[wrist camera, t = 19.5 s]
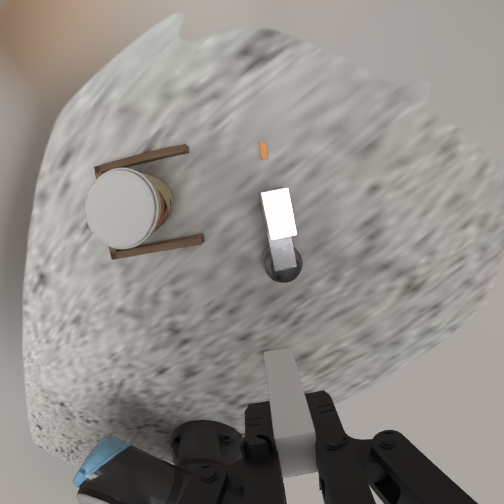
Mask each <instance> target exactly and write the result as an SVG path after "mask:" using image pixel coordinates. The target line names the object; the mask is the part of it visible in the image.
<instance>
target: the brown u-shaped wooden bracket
mask: <svg viewBox="0 0 504 504" xmlns="http://www.w3.org/2000/svg"><path fill="white" fill-rule="evenodd" d="M186 153H189V149H188V146H187V145H185V144H183V145H178V146H174V147H169V148H165V149H160V150H156V151H152V152H148V153H144V154H140V155H136V156H132V157H128V158H124V159H121V160H117V161H113V162H110V163H106V164H103V165H99V166H96V167H94V168H95V175H96V179H97V178H98V177H100V176H101V175H102V174H103V173H105V172H107V171H109V170H112V169H115V168H126V167H129V166H133V165H137V164H141V163H146V162H150V161H154V160H158V159H163V158H167V157H172V156H176V155H181V154H186ZM203 242H204V237H203V234H201V235H195V236H190V237H184V238H178V239H173V240H167V241H161V242H156V243H150V244H145V245H139V246H135V247H133V248H129V249H115V248H112V247H109V249H110V254H111V258H112V260H113V259H119V258H125V257H130V256H136V255H142V254H147V253H153V252H159V251H165V250H170V249H176V248H182V247H188V246H194V245H200V244H202V243H203Z"/></svg>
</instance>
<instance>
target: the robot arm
mask: <svg viewBox="0 0 504 504" xmlns="http://www.w3.org/2000/svg"><path fill="white" fill-rule="evenodd" d="M264 360H265V368H266V376H267V384H268V392H269V400H270V401H267V402H260V403H253V404H249V405H248V407H247V409H246V410H245V437H244V438H242V436H241V435H240V434H239V433H238V432H237V431H235V430H234V429H232V428H231V427H229V426H227V425H224V424H221V423H218V422H213V421H193V422H188V423H185V424H183V425H181V426H179V427H178V428H177V429H176V430H175V431H174V433H173V435H172V438H171V443H170V449H171V454H172V459H173V463H174V465H172V464H170V463H168V462H165V461H163V460H161V459H159V458H157V457H155V456H153V455H150V454H148V453H146V452H144V451H142V450H140V449H138V448H136V447H134V446H132V444H130V443H126V442H124V441H121V440H119V439H117V438H115V437H113V436H105V437H103V438H102V439H101V440H100V441H99V442H98V443H97V445H96V446H95V447H94V449H93V450H92V451H91V453H90V454H89V456H88V457H87V458H86V460H85V461H84V463H83V464H82V467H81V468H80V469H79V471H78V472H77V474H76V475H75V477H74V479H73V483H74V484H75V485H76V487H80V489H79V491H78V493H77V495H76V497H77V499H78V501H79V503H80V504H287V503H286V496H285V489H284V483H283V478H285V477H291V476H297V475H303V474H308V473H313V472H317V471H318V473H319V486H320V490H322V494H323V499H324V503H325V504H376V503H375V500H374V498H373V495H372V492H371V490H370V487H371V488H372V489H373V491H374V492H375V493H376V494H377V495H378V497H379V498H380V499H381V500H382V501H383V503H384V504H478V503H477V502H475V501H474V500H473V499H472V498H471V497H470V496H469V495H468V494H466V493H465V492H464V491H463V490H462V489H461V488H460V487H459V486H458V485H456V484H455V483H454V482H453V481H452V480H451V479H450V478H449V477H448V476H447V475H445V474H444V473H443V472H442V471H441V470H440V469H439V468H438V467H437V466H435V465H434V464H433V463H432V462H431V461H430V460H429V459H428V458H427V457H426V456H425V455H424V454H423V453H421V452H420V451H419V450H418V449H417V448H416V447H415V446H414V445H413V444H412V443H411V442H410V441H409V440H408V439H407V438H406V437H404V436H403V435H402V434H401V433H399V432H398V431H394V430H385V431H382V432H379V433H378V434H376V435H375V436H374V438H373V439H367V440H360V439H354V438H351V437H350V436H348V435H347V434H346V433H345V431H344V429H343V427H342V424H341V422H340V419H339V416H338V414H337V411H336V409H335V406H334V404H333V401H332V399H331V396H330V395H329V394H328V393H326V392H325V391H324V390H323V391H318V392H313V393H308V394H304V390H303V387H302V383H301V380H300V376H299V373H298V369H297V366H296V362H295V359H294V355H293V352H292V349H291V348H285V349H280V350H274V351H268V352H264ZM369 486H370V487H369Z"/></svg>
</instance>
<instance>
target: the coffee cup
mask: <svg viewBox="0 0 504 504" xmlns="http://www.w3.org/2000/svg"><path fill="white" fill-rule="evenodd" d="M172 207H173V197H172V193H171V191H170V189H169V187H168V186H167V185H166V184H165V183H164V182H163V181H162V180H160V179H158V178H156V177H153V176H150V175H147V174H144V173H141V172H138V171H136V170H133V169H130V168H115V169H112V170H109V171H107V172H105V173H103V174H102V175H101V176H100V177H98V178H97V179H96V181H95V182H94V183H93V185H92V186H91V188H90V190H89V192H88V195H87V198H86V203H85V214H86V220H87V223H88V226H89V228H90V230H91V231H92V233H93V234H94V235H95V237H96V238H97V239H98V240H100V241H101V242H102V243H104V244H105V245H107V246H109V247H112V248H115V249H129V248H133V247H135V246H138V245H139V244H141V243H142V242H144V241H145V240H146V239H147V238H148V237H149V236H150V235H151V234H152V233H153V232H154V231H155V230H156V229H158V228H159V227H160V226H161V225H162V224H163V223H164V222H165V221H166V220H167V219H168V217H169V216H170V214H171V211H172Z"/></svg>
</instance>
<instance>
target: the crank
mask: <svg viewBox="0 0 504 504" xmlns="http://www.w3.org/2000/svg"><path fill="white" fill-rule="evenodd" d="M258 194H259V198H260V203H261V208H262V213H263V218H264V222H265V227H266V232H267V237H268V242H269V247H270V252H271V257H272V260H271V264H270V267H271V271H272V274H273V276H274V277H275V278H276V279H277V280H278V281H280V282H290V281H292V280H294V279H295V278H296V277H297V276H298V274H299V272H300V265H299V262H298V260H297V259H296V257H295V253H294V248H293V242H292V237H291V236H293V235H297V232H296V227H295V221H294V216H293V211H292V206H291V201H290V196H289V191H288V188H283V187H278V188H273V189H268V190H263V191H259V192H258Z"/></svg>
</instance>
